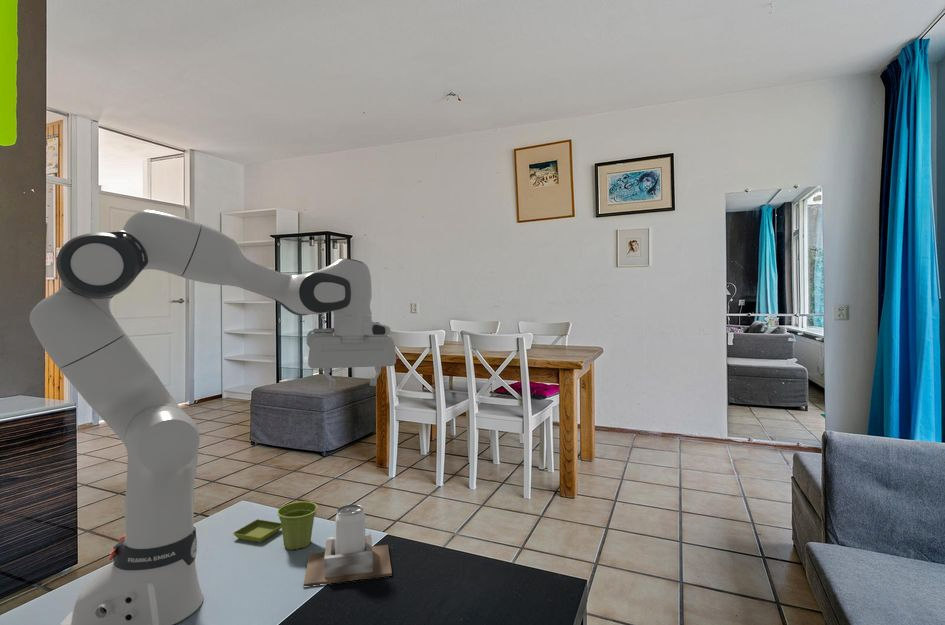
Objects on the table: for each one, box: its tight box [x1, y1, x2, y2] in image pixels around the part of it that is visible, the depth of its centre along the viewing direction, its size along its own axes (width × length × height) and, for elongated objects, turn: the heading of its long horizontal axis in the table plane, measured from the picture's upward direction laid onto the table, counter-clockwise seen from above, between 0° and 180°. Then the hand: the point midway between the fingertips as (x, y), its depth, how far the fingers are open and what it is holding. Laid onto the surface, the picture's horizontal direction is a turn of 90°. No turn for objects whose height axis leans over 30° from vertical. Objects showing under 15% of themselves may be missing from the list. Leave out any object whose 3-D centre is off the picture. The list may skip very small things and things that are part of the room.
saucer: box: [232, 519, 282, 543], centre depth 124 cm, size 9×9×2 cm
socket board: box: [303, 532, 393, 587], centre depth 109 cm, size 18×13×6 cm
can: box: [334, 504, 366, 555], centre depth 109 cm, size 6×6×12 cm
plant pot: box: [276, 501, 319, 550], centre depth 119 cm, size 9×9×9 cm
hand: (353, 386), depth 116 cm, fingers open, 8 cm apart
